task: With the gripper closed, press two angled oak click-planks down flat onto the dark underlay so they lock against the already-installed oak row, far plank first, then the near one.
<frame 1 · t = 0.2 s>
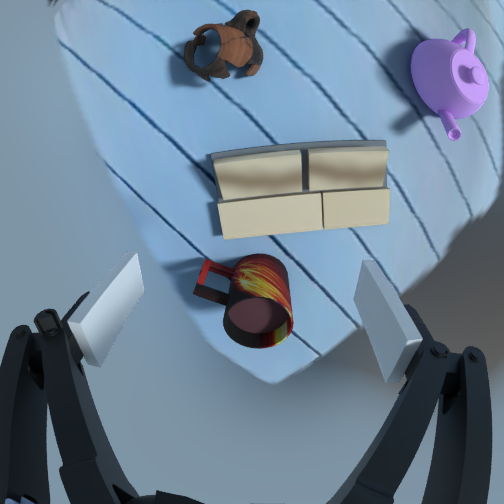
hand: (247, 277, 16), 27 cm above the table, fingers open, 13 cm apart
mug: (247, 278, 48), on the table
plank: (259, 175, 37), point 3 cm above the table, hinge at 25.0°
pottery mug: (232, 50, 32), on the table
floor panel: (304, 185, 40), on the table
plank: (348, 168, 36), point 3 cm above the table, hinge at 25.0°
teapot: (438, 83, 31), on the table
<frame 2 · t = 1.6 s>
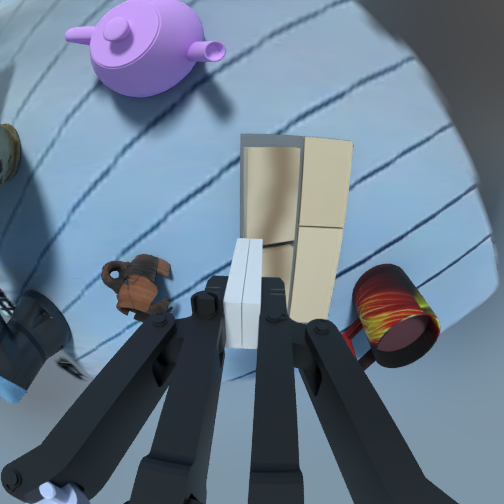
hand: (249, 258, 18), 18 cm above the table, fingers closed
mug: (376, 300, 41), on the table
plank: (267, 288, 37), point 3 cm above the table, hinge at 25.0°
vase: (7, 149, 31), on the table
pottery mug: (145, 276, 41), on the table
floor panel: (290, 235, 37), on the table
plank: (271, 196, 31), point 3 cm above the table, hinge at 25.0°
teapot: (160, 50, 26), on the table
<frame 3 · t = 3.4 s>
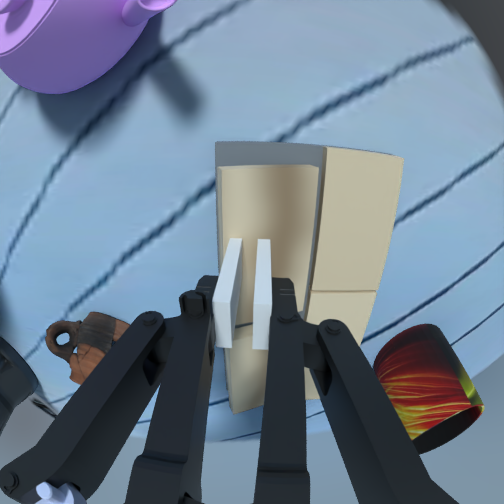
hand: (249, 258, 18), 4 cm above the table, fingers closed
mug: (402, 364, 29), on the table
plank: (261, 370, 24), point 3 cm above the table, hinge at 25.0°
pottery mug: (105, 336, 28), on the table
floor panel: (295, 297, 24), on the table
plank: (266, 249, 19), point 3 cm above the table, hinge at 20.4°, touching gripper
teapot: (98, 22, 14), on the table
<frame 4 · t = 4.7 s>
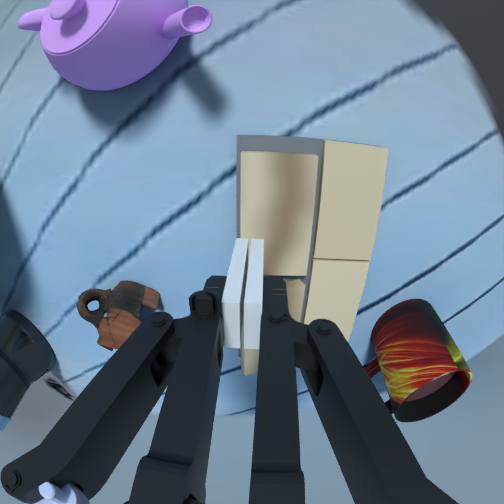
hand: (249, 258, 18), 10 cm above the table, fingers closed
mug: (397, 338, 33), on the table
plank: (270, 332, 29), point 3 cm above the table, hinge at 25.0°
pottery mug: (132, 305, 33), on the table
floor panel: (301, 267, 28), on the table
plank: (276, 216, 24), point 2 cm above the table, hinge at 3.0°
teapot: (134, 31, 18), on the table
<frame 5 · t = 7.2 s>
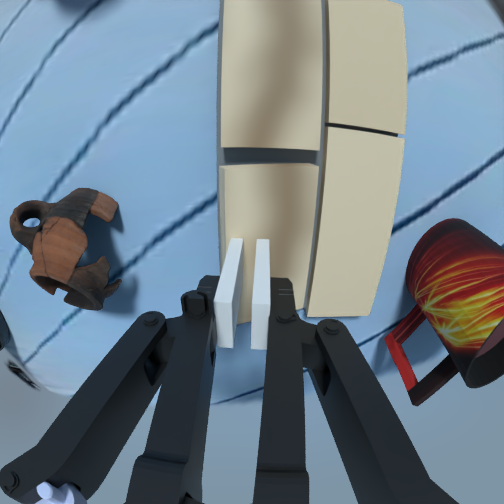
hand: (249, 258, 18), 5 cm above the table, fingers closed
mug: (436, 280, 24), on the table
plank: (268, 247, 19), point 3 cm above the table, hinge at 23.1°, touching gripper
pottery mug: (84, 230, 23), on the table
floor panel: (309, 151, 19), on the table
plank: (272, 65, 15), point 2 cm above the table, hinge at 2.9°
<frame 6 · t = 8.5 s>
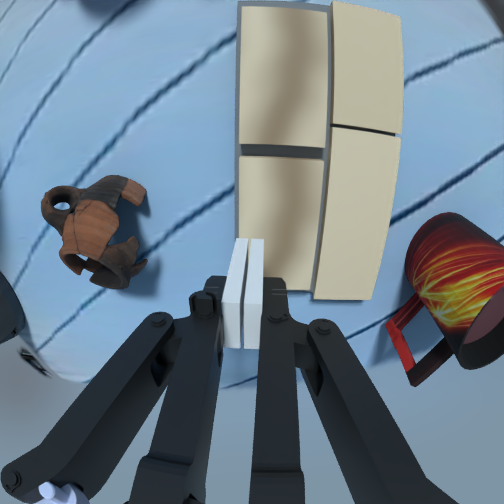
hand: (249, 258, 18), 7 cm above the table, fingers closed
mug: (434, 271, 25), on the table
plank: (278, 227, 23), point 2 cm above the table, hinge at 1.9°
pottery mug: (111, 215, 25), on the table
floor panel: (316, 149, 21), on the table
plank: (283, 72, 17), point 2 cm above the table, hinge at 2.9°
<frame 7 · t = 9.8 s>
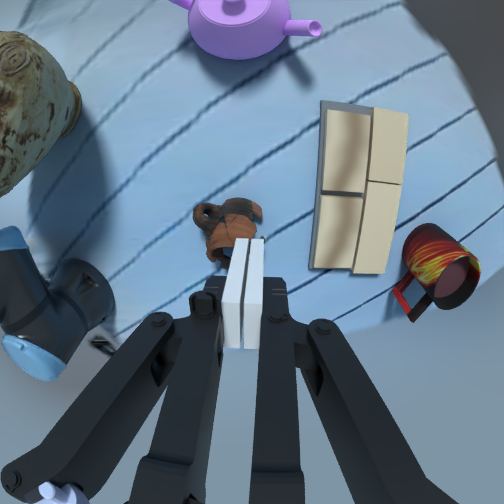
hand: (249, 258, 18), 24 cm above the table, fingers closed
mug: (420, 257, 44), on the table
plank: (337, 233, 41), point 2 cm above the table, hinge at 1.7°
vase: (62, 106, 34), on the table
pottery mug: (231, 223, 43), on the table
floor panel: (357, 191, 39), on the table
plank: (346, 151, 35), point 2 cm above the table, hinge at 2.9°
teapot: (246, 24, 29), on the table
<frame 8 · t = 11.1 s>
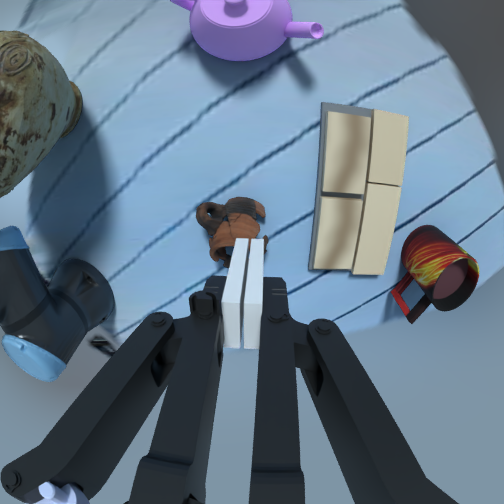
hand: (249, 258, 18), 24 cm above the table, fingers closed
mug: (419, 259, 44), on the table
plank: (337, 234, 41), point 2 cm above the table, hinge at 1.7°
vase: (63, 106, 34), on the table
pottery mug: (234, 222, 43), on the table
floor panel: (357, 192, 39), on the table
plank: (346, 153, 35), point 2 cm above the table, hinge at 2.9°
teapot: (247, 25, 29), on the table
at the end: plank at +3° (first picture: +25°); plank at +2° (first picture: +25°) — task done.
